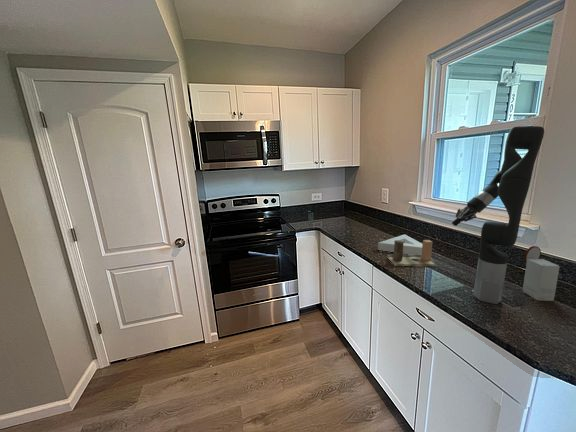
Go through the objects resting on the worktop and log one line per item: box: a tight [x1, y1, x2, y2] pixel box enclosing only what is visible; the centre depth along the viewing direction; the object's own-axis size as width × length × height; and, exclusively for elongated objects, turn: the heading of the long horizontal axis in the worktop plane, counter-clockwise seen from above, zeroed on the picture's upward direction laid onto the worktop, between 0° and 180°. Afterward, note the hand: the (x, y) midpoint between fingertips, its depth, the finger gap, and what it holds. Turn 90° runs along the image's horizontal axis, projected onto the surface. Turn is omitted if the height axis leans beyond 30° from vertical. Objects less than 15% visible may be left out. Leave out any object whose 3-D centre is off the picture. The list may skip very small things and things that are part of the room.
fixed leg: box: [392, 240, 404, 261], centre depth 144 cm, size 4×6×11 cm, turn 177°
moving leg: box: [421, 239, 433, 261], centre depth 143 cm, size 4×6×11 cm, turn 177°
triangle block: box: [377, 234, 423, 255], centre depth 168 cm, size 30×26×6 cm
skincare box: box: [522, 258, 561, 302], centre depth 105 cm, size 8×7×16 cm
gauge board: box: [386, 254, 436, 268], centre depth 144 cm, size 22×12×2 cm, turn 87°
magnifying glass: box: [523, 245, 542, 264], centre depth 111 cm, size 9×2×20 cm, turn 103°
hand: (453, 224), depth 134 cm, fingers closed
